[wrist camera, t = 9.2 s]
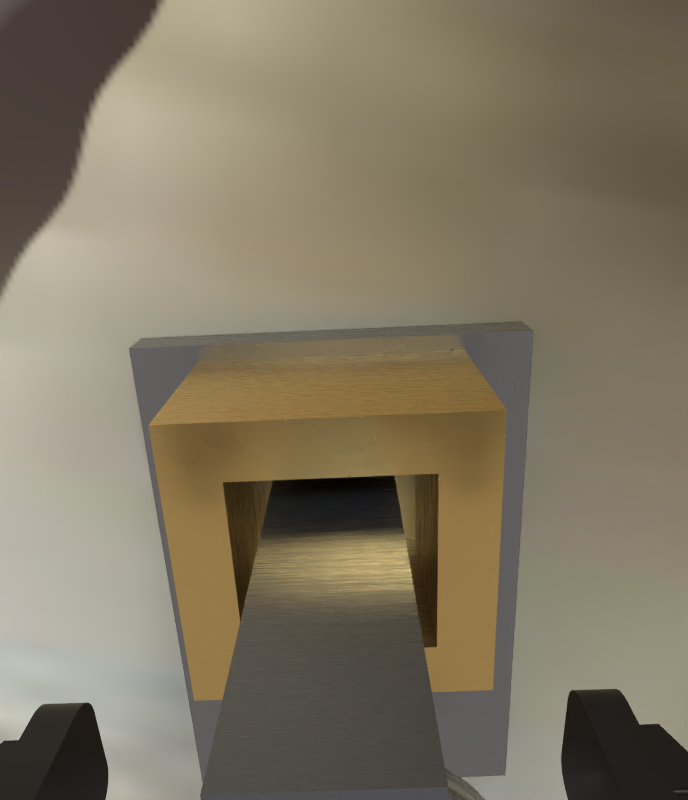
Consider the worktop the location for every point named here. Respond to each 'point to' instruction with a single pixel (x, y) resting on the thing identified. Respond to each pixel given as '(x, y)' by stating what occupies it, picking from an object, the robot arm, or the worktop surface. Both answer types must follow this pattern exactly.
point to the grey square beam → (329, 657)
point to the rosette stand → (349, 457)
